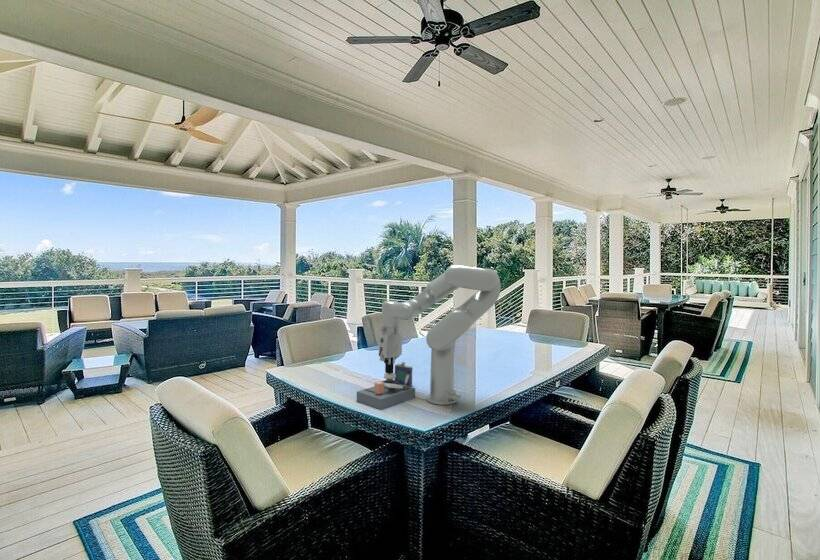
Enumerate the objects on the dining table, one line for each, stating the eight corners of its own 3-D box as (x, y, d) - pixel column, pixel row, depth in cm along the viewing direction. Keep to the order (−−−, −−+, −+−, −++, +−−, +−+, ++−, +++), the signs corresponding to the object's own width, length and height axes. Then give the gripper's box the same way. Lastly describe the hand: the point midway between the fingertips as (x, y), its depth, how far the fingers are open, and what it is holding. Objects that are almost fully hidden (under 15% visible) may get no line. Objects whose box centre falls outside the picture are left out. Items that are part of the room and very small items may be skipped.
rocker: (402, 388, 171) (403, 386, 171) (389, 387, 165) (389, 384, 165) (395, 386, 174) (395, 384, 174) (382, 385, 168) (382, 382, 168)
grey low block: (415, 397, 175) (415, 384, 175) (381, 409, 160) (381, 395, 160) (390, 390, 184) (391, 377, 184) (356, 401, 169) (356, 387, 169)
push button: (398, 381, 178) (398, 374, 178) (389, 383, 175) (390, 376, 174) (389, 379, 182) (389, 372, 182) (381, 381, 178) (381, 374, 178)
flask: (413, 385, 192) (413, 362, 191) (409, 387, 189) (410, 363, 189) (396, 382, 196) (396, 360, 196) (392, 384, 194) (392, 361, 194)
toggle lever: (408, 387, 173) (413, 370, 175) (404, 386, 172) (410, 368, 174) (404, 386, 175) (409, 369, 177) (400, 385, 173) (406, 367, 175)
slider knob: (384, 392, 166) (384, 382, 166) (378, 394, 164) (379, 383, 164) (380, 391, 168) (380, 381, 168) (374, 393, 166) (374, 382, 165)
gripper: (384, 333, 169) (382, 378, 170) (408, 329, 180) (407, 371, 181) (371, 330, 174) (370, 374, 175) (395, 327, 185) (394, 368, 186)
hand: (389, 372), depth 178 cm, fingers closed
